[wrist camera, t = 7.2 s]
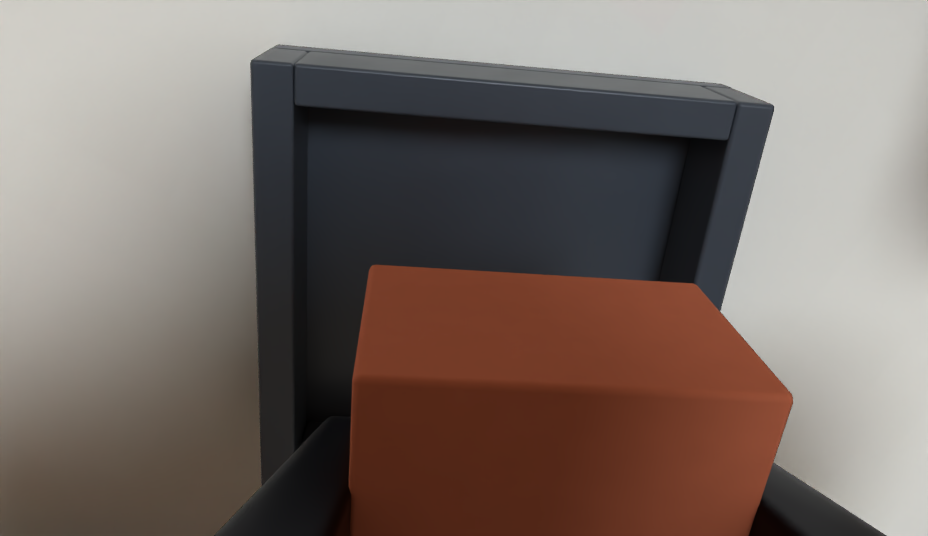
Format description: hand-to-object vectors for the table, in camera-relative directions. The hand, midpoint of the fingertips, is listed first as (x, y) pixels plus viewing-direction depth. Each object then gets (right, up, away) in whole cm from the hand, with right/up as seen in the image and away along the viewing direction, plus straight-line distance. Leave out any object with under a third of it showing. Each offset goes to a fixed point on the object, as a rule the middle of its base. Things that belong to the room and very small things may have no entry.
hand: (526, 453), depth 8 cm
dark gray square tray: (0, +2, +5) cm, 5 cm away
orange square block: (0, 0, +1) cm, 1 cm away
